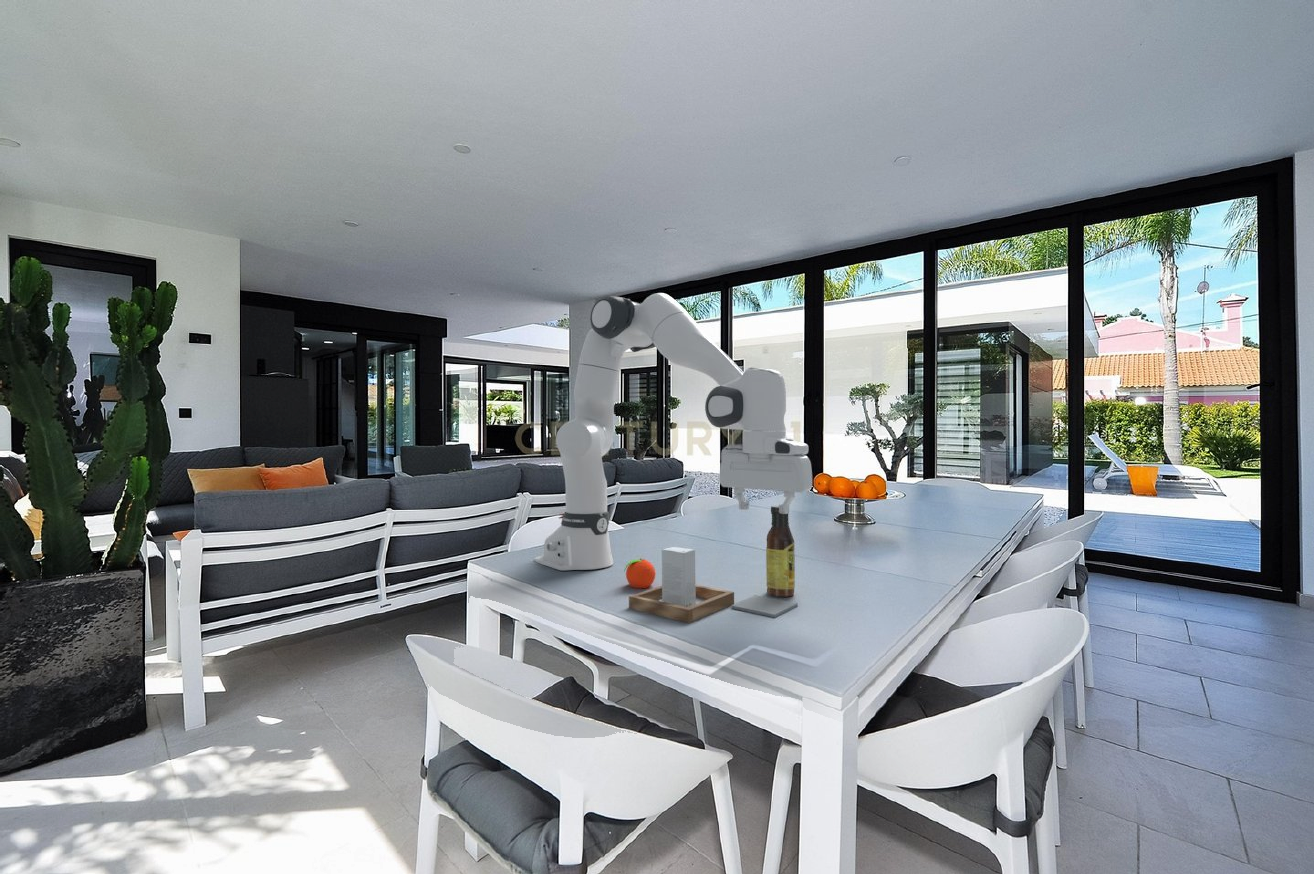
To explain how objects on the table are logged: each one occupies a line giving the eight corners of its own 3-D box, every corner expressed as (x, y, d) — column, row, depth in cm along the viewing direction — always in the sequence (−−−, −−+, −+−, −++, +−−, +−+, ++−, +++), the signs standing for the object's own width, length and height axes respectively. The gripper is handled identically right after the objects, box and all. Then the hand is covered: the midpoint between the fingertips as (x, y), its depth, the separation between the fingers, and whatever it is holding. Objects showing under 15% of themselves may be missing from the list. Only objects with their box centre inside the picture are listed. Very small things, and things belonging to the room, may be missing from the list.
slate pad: (731, 608, 122) (731, 605, 122) (755, 597, 130) (755, 595, 130) (774, 617, 116) (774, 614, 116) (797, 606, 123) (797, 603, 123)
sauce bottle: (795, 599, 129) (794, 508, 128) (766, 597, 130) (765, 507, 130) (794, 591, 135) (794, 504, 135) (766, 589, 136) (766, 504, 136)
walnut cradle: (628, 608, 122) (628, 596, 122) (676, 591, 135) (676, 580, 135) (689, 623, 112) (688, 610, 112) (734, 603, 125) (734, 592, 125)
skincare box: (696, 606, 123) (696, 549, 123) (684, 611, 120) (684, 552, 120) (673, 601, 127) (673, 546, 127) (661, 605, 124) (660, 549, 124)
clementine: (631, 595, 132) (631, 563, 132) (616, 588, 138) (616, 558, 138) (661, 589, 137) (661, 559, 137) (645, 583, 142) (645, 554, 142)
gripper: (713, 444, 126) (713, 508, 126) (802, 446, 113) (801, 517, 114) (729, 444, 131) (729, 505, 131) (816, 445, 118) (815, 514, 118)
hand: (763, 511), depth 122 cm, fingers open, 8 cm apart
